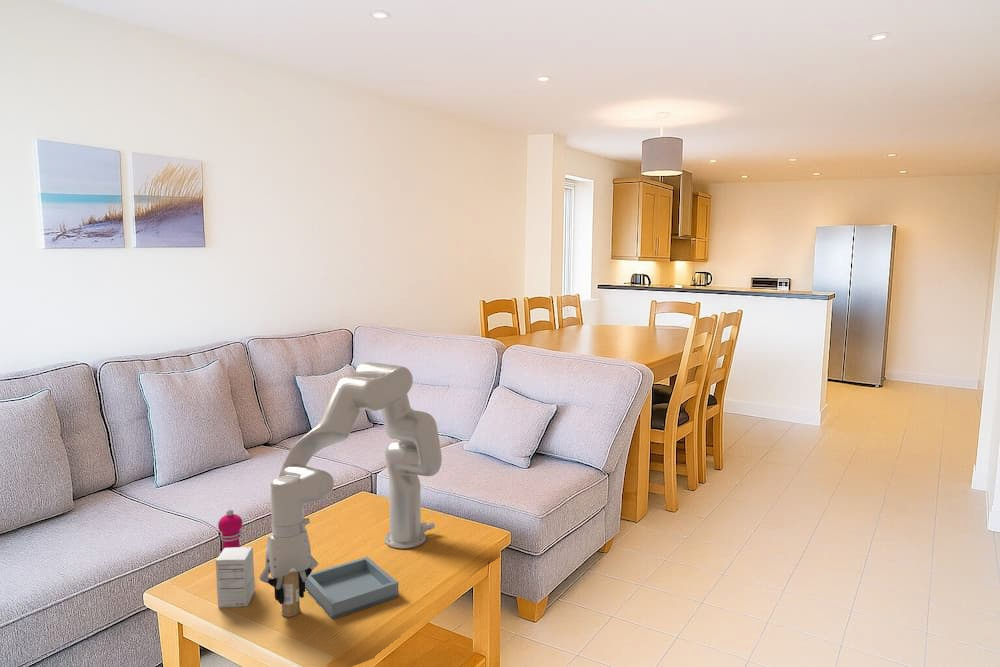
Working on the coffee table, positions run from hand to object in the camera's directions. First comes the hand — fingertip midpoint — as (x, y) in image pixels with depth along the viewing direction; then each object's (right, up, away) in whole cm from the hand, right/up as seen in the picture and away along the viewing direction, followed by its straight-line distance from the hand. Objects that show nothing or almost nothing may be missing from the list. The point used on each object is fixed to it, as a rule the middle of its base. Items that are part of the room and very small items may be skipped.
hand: (290, 597), depth 164 cm
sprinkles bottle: (0, -4, 0) cm, 4 cm away
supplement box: (-16, -3, +6) cm, 17 cm away
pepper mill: (-21, -2, +16) cm, 26 cm away
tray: (+13, -3, +10) cm, 16 cm away
